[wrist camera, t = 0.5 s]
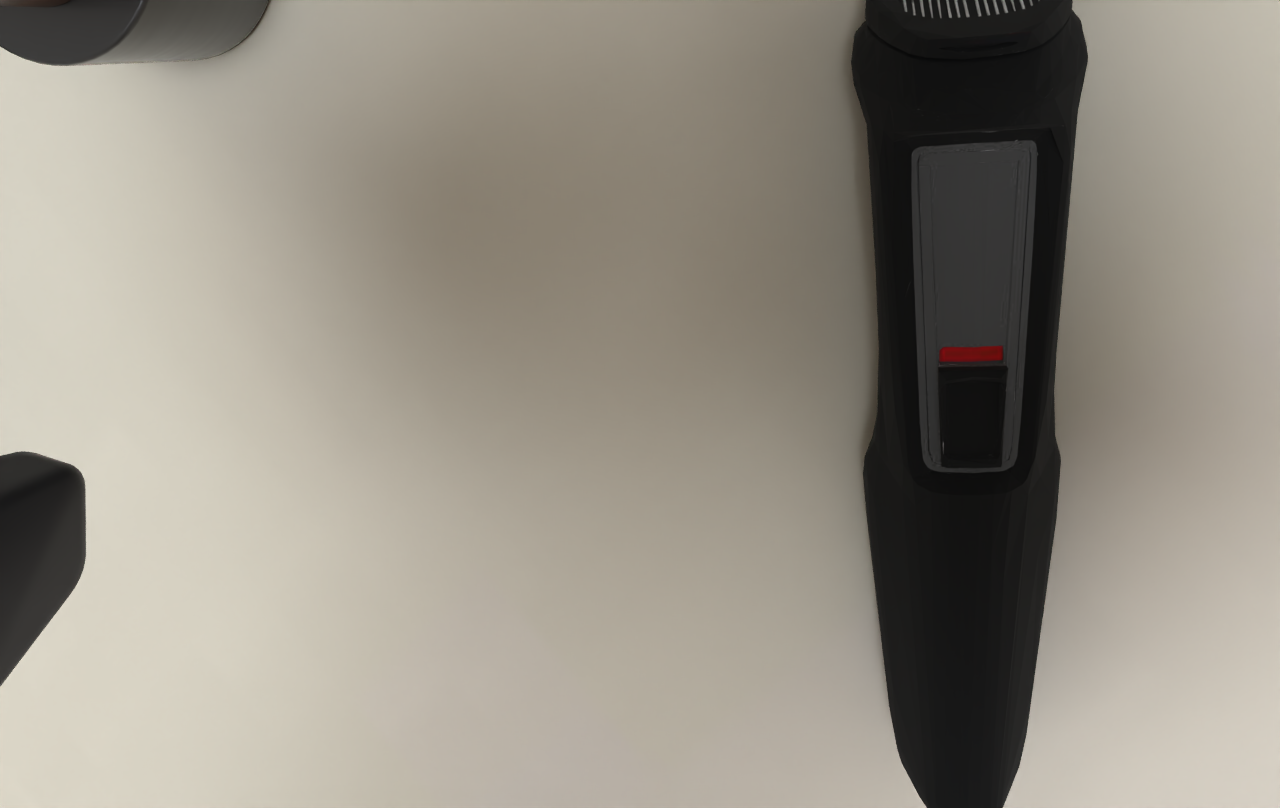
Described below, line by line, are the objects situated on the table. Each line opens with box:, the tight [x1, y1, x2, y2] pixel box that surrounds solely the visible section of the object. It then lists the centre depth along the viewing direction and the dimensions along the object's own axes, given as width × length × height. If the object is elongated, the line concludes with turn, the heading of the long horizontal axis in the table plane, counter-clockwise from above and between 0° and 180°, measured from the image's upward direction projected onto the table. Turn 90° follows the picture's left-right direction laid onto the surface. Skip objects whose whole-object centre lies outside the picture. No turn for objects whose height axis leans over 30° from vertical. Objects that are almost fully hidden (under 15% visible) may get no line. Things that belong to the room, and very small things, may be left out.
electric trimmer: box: [851, 0, 1088, 808], centre depth 20 cm, size 4×16×3 cm, turn 4°
